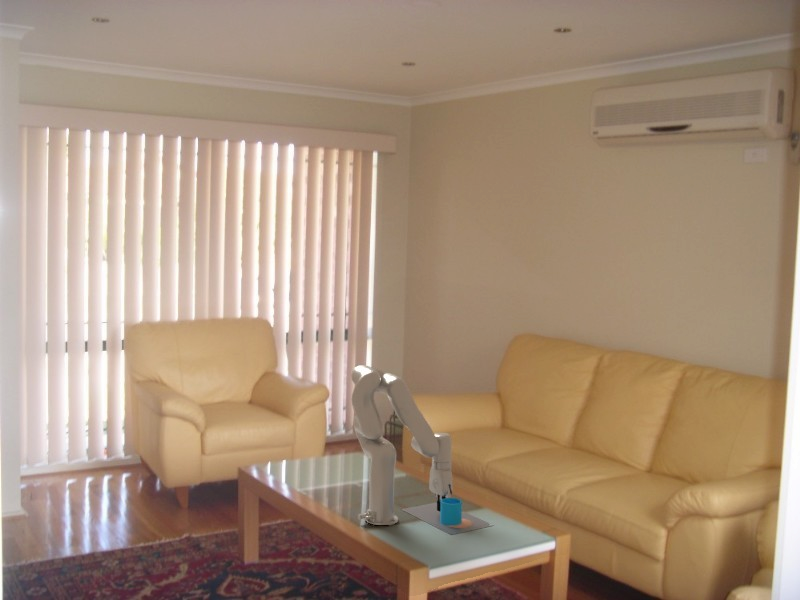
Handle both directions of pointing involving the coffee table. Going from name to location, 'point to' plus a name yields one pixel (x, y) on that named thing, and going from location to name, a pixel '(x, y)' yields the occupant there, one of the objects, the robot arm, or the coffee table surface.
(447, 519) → the mug
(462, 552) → the coffee table surface
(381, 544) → the coffee table surface
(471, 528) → the mat
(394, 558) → the coffee table surface
